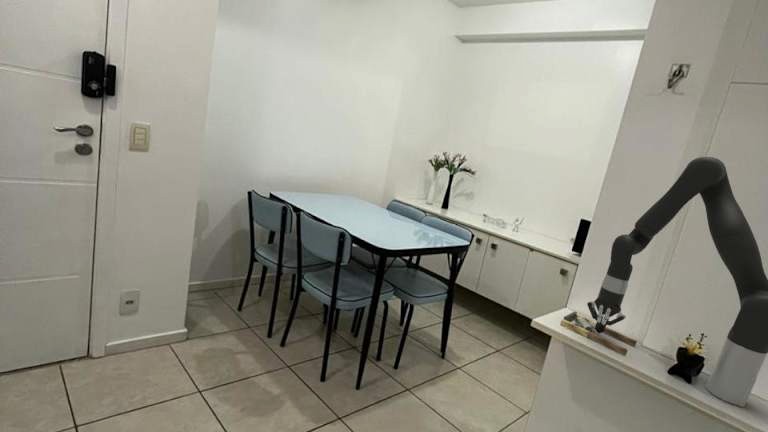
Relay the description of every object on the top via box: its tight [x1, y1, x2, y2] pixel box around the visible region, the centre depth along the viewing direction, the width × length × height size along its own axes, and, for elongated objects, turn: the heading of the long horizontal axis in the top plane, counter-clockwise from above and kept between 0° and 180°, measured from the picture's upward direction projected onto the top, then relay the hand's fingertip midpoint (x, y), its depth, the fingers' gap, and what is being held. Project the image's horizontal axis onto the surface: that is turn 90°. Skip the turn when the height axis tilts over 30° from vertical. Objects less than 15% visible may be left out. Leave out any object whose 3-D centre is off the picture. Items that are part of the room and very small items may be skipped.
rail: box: [560, 311, 638, 357], centre depth 145 cm, size 22×14×3 cm, turn 44°
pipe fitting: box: [574, 315, 596, 333], centre depth 147 cm, size 8×4×7 cm
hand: (598, 332), depth 145 cm, fingers closed
